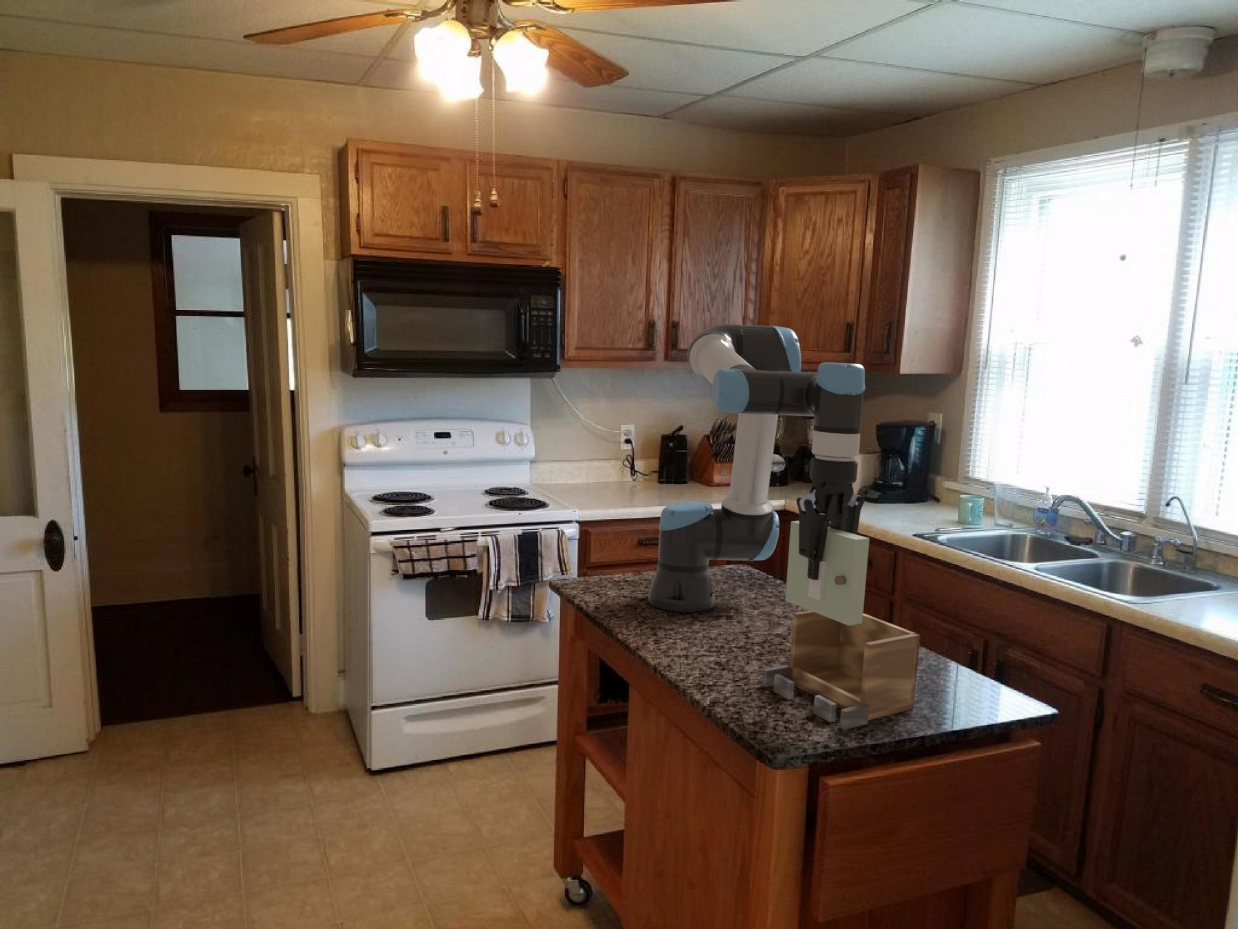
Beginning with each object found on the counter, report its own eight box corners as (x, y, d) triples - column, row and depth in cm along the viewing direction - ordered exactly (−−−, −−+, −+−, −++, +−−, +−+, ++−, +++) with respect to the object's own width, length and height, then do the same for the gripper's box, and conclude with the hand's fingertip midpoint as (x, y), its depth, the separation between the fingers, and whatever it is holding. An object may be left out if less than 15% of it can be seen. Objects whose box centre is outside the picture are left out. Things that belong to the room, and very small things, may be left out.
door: (780, 601, 154) (785, 521, 152) (798, 598, 156) (804, 520, 154) (843, 626, 141) (850, 540, 139) (862, 623, 143) (869, 538, 141)
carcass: (762, 685, 158) (767, 614, 156) (832, 670, 167) (838, 603, 165) (844, 730, 141) (850, 651, 139) (917, 710, 150) (925, 636, 148)
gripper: (853, 453, 153) (842, 586, 156) (781, 455, 144) (771, 596, 148) (886, 459, 146) (874, 597, 150) (814, 462, 138) (803, 608, 141)
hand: (823, 596), depth 149 cm, fingers closed on door, 3 cm apart
